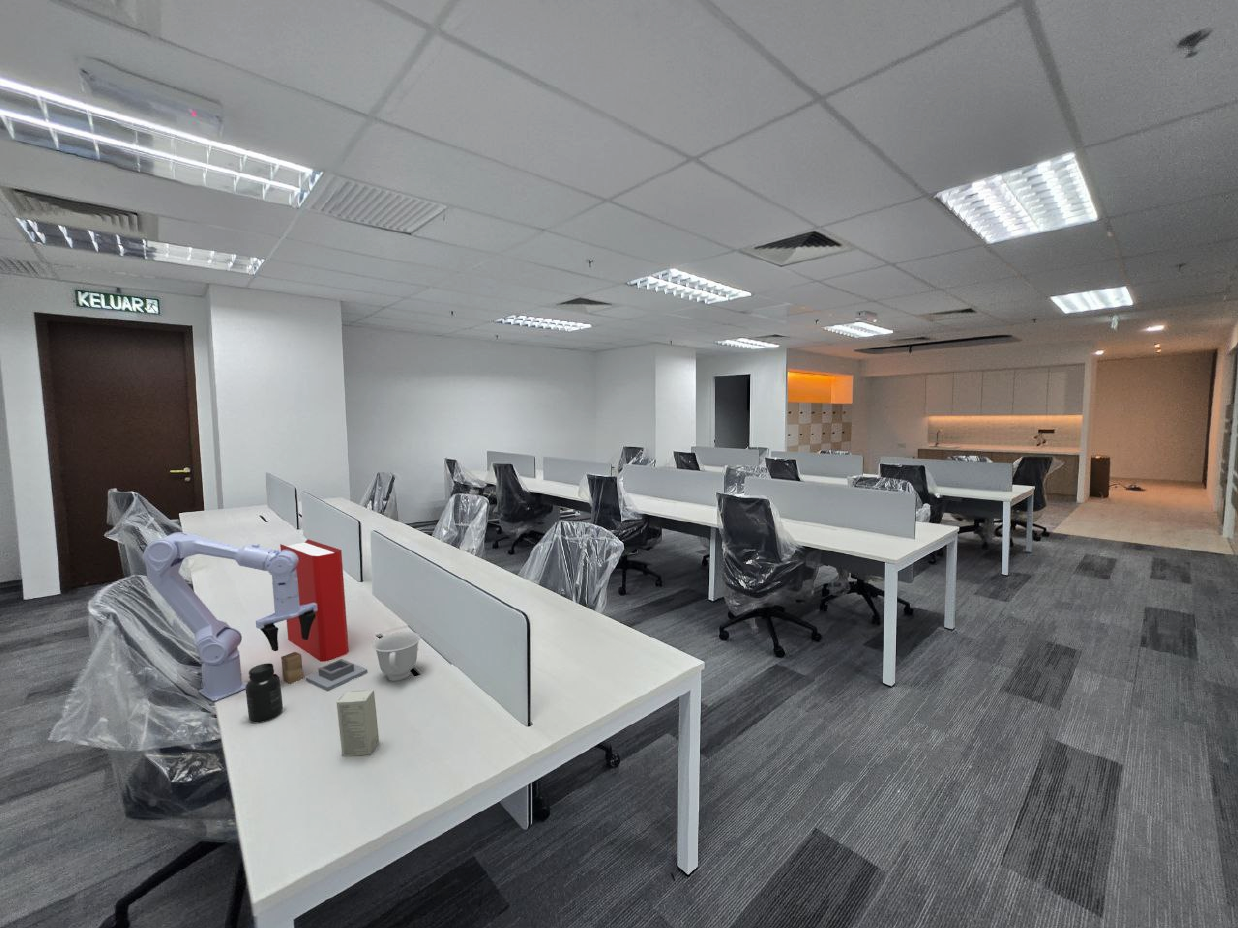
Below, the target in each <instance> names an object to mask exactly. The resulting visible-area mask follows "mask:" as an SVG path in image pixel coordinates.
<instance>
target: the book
mask: <svg viewBox="0 0 1238 928" xmlns="http://www.w3.org/2000/svg"><path fill="white" fill-rule="evenodd" d="M279 546H280V551H283V550H290V551H292V552H294V553H295V554H296V555H297V556H298V559H299V561H298V564H297V566H296V567H295V568H294V569H296V571H297V578H298V590H299V603H300V606H302V605H307V604H311V603H316V604H317V609H318V610H317V611H313V612H314V613H316V617H315V619H314V621H313V623H312V625H311V628H310V632H309V638H308V640H304V639H302V636H301V625H300V620H299V617H298V616H296V617H293V618H290V619H287V620H286V628H287V629H286V630H287V640H288V641H289V642H291V643H292V644H294V645H295V646H297V647H298V648H299V649H301V650H302V651H305V653H307V654H308V653H309V654H308V655H310V656H311V657H313V658H314V659H316V660H318V661H319V662H320V663H323V662H326V661H327V662H330V661H332V660H335V659H338V658H340V657H344V656H346V655H348V654H349V652H350V649H349V647H350V646H349V636H348V625H347V622H348V620H347V611H346V610H347V609H346V607H347V606H346V597H345V596H346V595H345V593H346V592H345V583H344V582H345V581H344V565H343V554H342V550H341V549H339V548H336V547H333V546H331V545H326V544H323V543H320V542H318V541H314V540H312V539H306V540H305V541H304V542H300V543H295V544H294V543H293V544H290V545H284V544H281V543H280V545H279ZM294 569H293V570H294ZM329 660H330V661H329ZM327 662H326V663H327Z"/></svg>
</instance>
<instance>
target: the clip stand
mask: <svg viewBox="0 0 1238 928" xmlns="http://www.w3.org/2000/svg"><path fill="white" fill-rule="evenodd" d="M366 674H368V669H367V668H365V667H363V666H360V665H357V664H355V663H353V662H351V661H348V660H346V659H342V658H339V659H338V660H335V661H333V662H330V663H329V664H326V665H324V666H321V667H318V671H316V672H314V673H312V674H310V675H307V676H305V681H306V682H308V683H309V684H312V685H314V686H316V687H318V688H320V689H322V690H324V691H326V692H328V691H329V692H330V691H331V690H333V689H335V688H338V687H340V686H342V685H344V684H346V683H349V682H351V681H353V680H355V679H357V678H359V677H361V676H363V675H366ZM354 678H355V679H354ZM352 679H353V680H352ZM350 680H351V681H350ZM343 683H344V684H343Z"/></svg>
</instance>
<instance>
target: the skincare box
mask: <svg viewBox="0 0 1238 928" xmlns="http://www.w3.org/2000/svg"><path fill="white" fill-rule="evenodd" d="M376 706H377V705H376V696H375V690H374V689H367V690H349V691H345V693H343V694H342V696H341V697H340V698H338V699H337V701H336V708H337V709H336V710H337V711H336V712H337V718H338V719H337V720H338V728H339V738H340V739H339V741H340V746H341V756H342V757H345V756H346V757H348V756H349V757H350V756H365V755H367V756H368V755H371V754H373V752H374V750H375V749H376V747H377V746H378V744H379V743H380V738H379V736H380V735H379V726H378V725H379V724H378V717H377V707H376Z"/></svg>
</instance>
